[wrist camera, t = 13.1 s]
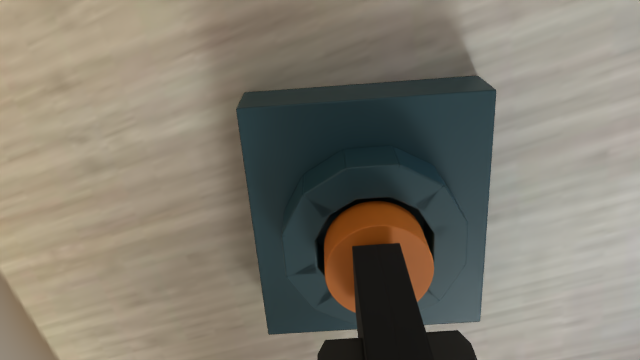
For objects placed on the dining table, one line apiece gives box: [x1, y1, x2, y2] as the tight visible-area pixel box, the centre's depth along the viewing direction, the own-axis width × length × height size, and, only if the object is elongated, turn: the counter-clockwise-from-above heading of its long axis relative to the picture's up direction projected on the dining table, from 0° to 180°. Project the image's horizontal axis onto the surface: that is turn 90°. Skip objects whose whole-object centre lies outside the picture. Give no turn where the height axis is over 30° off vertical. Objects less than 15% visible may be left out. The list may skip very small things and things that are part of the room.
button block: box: [236, 76, 496, 334], centre depth 20 cm, size 10×9×4 cm
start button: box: [324, 201, 434, 313], centre depth 18 cm, size 4×4×2 cm
